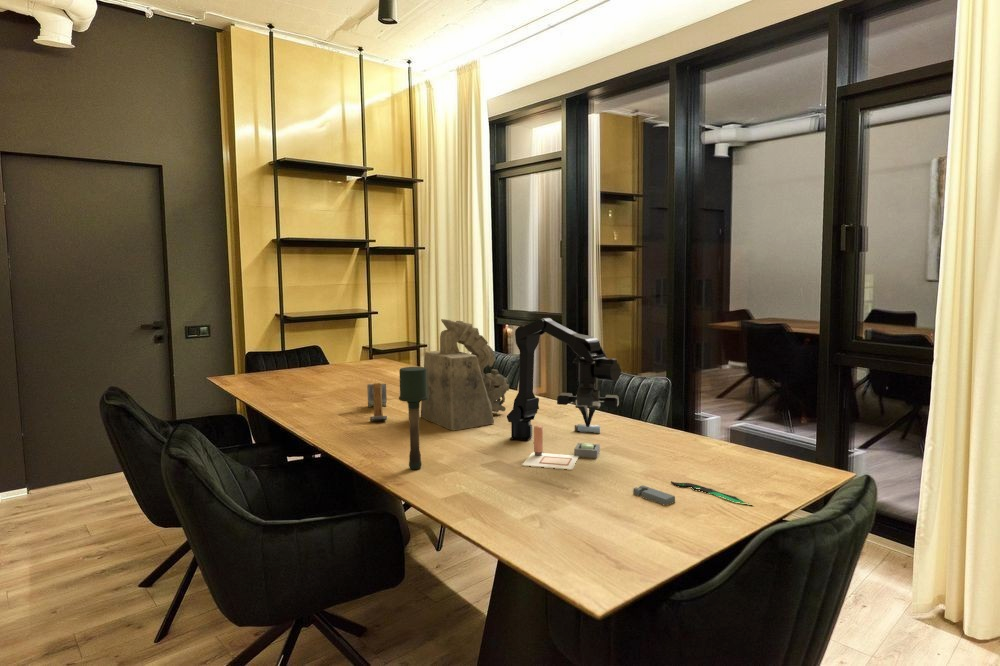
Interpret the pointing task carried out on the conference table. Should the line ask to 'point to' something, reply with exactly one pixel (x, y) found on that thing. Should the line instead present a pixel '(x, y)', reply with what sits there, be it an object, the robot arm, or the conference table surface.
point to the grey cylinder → (587, 428)
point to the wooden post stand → (377, 400)
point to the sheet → (551, 461)
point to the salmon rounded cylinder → (538, 440)
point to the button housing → (587, 451)
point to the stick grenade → (413, 406)
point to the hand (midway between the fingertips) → (587, 426)
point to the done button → (587, 446)
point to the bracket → (654, 495)
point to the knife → (708, 491)
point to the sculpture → (462, 380)
